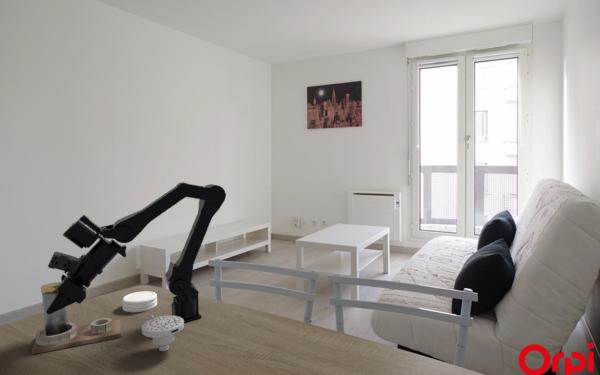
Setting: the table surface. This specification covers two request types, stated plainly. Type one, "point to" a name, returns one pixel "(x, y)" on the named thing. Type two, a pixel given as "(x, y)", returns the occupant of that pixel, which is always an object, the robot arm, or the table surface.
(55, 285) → the grey lidded canister
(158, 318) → the showerhead
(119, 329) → the fitting board
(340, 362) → the table surface
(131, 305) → the white plate stack
